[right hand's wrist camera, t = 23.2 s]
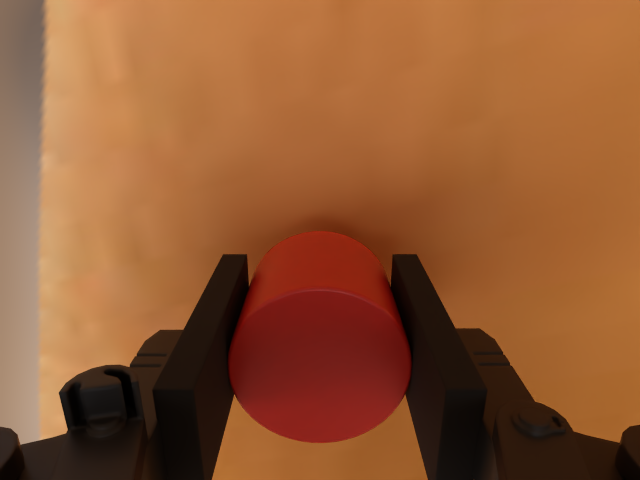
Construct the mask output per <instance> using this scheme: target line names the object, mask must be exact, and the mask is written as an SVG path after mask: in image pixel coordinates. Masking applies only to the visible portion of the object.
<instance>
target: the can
mask: <svg viewBox="0 0 640 480" xmlns="http://www.w3.org/2000/svg"><path fill="white" fill-rule="evenodd" d="M227 363H228V375H229V380H230V384H231V386H232V389H233V392H234V394H235V396H236V398H237V400H238V401H239V403H240V404H241V406H242V407H243V408H244V410H245V411H246V412H247V413H248V414H249V415H250V416H251V417H252V418H253V419H254V420H255V421H257V422H258V423H259V424H260V425H262V426H263V427H265V428H267V429H268V430H270V431H272V432H274V433H276V434H278V435H281V436H284V437H286V438H289V439H293V440H298V441H303V442H311V443H328V442H337V441H342V440H347V439H350V438H353V437H356V436H359V435H361V434H363V433H366V432H368V431H369V430H371V429H373V428H375V427H376V426H378V425H379V424H380V423H382V422H383V421H384V420H385V419H387V418H388V417H389V416H390V415H391V414H392V413H393V412H394V410H395V409H396V408H397V407H398V405H399V404H400V402H401V401H402V399H403V397H404V395H405V393H406V391H407V388H408V386H409V382H410V378H411V372H412V354H411V349H410V345H409V342H408V339H407V336H406V333H405V330H404V327H403V324H402V321H401V318H400V314H399V311H398V308H397V305H396V302H395V299H394V296H393V293H392V290H391V287H390V284H389V281H388V278H387V276H386V273H385V270H384V268H383V267H382V265H381V263H380V261H379V260H378V259H377V257H376V256H375V255H374V254H373V253H372V252H371V251H370V250H369V249H368V248H367V247H365V246H364V245H363V244H362V243H360V242H358V241H356V240H355V239H353V238H350V237H348V236H345V235H342V234H339V233H334V232H327V231H313V232H305V233H301V234H297V235H294V236H292V237H289V238H287V239H285V240H283V241H281V242H280V243H278V244H277V245H275V246H274V247H273V248H272V249H271V250H269V251H268V252H267V253H266V254H265V256H264V257H263V258H262V259H261V261H260V262H259V264H258V266H257V267H256V270H255V272H254V274H253V277H252V280H251V283H250V286H249V289H248V292H247V295H246V298H245V301H244V304H243V307H242V310H241V313H240V316H239V319H238V322H237V325H236V328H235V331H234V334H233V337H232V340H231V344H230V347H229V351H228V360H227Z"/></svg>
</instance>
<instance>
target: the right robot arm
mask: <svg viewBox="0 0 640 480" xmlns="http://www.w3.org/2000/svg"><path fill="white" fill-rule="evenodd" d="M248 289H249V280H248V263H247V254H223V256H222V258H221V259H220V261H219V263H218V265H217V267H216V269H215V271H214V273H213V275H212V277H211V278H210V280H209V282H208V284H207V286H206V288H205V290H204V292H203V294H202V296H201V298H200V299H199V301H198V303H197V305H196V307H195V309H194V311H193V313H192V315H191V317H190V318H189V320H188V322H187V324H186V326H185V328H184V330H160V331H158V332H157V333H155V334H154V335H153V336H151V337H150V338H149V339H147V340H146V341H145V342H144V344H143V345H142V347H141V348H140V350H139V351H138V353H137V356H135V358H134V359H133V361H132V362H131V364H130V367H126V366H122V365H105V366H101V367H96V368H92V369H90V370H87V371H85V372H83V373H81V374H78V375H77V376H75V377H74V378H72V379H71V380H70V381H68V382H67V383H66V384H65V385H64V386H63V388H62V389H61V390H60V392H59V395H60V399H61V403H62V407H63V412H64V416H65V420H66V424H67V428H68V431H67V433H66V434H63V435H59V436H56V437H53V438H48V439H44V440H40V441H35V442H31V443H27V444H22V445H20V442H19V439H18V435H17V434H16V433H15V432H14V431H13V430H12V429H9V428H4V427H0V480H212V476H213V472H214V469H215V465H216V461H217V457H218V454H219V450H220V446H221V442H222V438H223V435H224V431H225V427H226V423H227V419H228V416H229V412H230V408H231V404H232V401H233V397H234V392H233V389H232V386H231V384H230V380H229V375H228V363H227V360H228V351H229V347H230V344H231V340H232V337H233V334H234V331H235V328H236V325H237V322H238V319H239V316H240V313H241V310H242V307H243V304H244V301H245V298H246V295H247V292H248ZM391 290H392V293H393V296H394V299H395V302H396V305H397V308H398V311H399V314H400V318H401V321H402V324H403V327H404V330H405V333H406V336H407V339H408V342H409V345H410V349H411V354H412V372H411V378H410V382H409V386H408V388H407V391H406V393H405V394H406V398H407V402H408V406H409V409H410V413H411V417H412V421H413V425H414V428H415V432H416V436H417V440H418V443H419V447H420V451H421V455H422V459H423V462H424V466H425V470H426V474H427V478H428V480H640V425H636V426H630V427H629V428H627V429H626V430H625V431H624V432H623V434H622V437H621V441H620V443H617V442H613V441H609V440H604V439H600V438H595V437H591V436H587V435H583V434H580V433H577V432H574V431H573V430H572V428H571V427H570V425H569V423H568V422H567V420H566V419H565V418H564V417H562V416H561V415H560V414H559V413H558V412H556V411H555V410H553V409H551V408H549V407H547V406H545V405H543V404H541V403H538V402H535V401H534V399H533V398H532V396H531V395H530V393H529V392H528V390H527V389H526V387H525V385H524V384H523V382H522V381H521V379H520V378H519V376H518V375H517V373H516V372H515V370H514V369H513V367H512V366H510V362H509V361H508V359H507V358H506V356H505V355H503V352H502V350H501V349H500V347H499V345H498V344H497V342H496V341H495V339H493V338H492V337H490V336H489V335H488V334H486V333H485V332H484V331H482V330H481V329H455V327H454V325H453V323H452V321H451V319H450V317H449V315H448V313H447V312H446V310H445V308H444V306H443V304H442V302H441V300H440V298H439V296H438V294H437V292H436V291H435V289H434V287H433V285H432V283H431V281H430V279H429V277H428V275H427V273H426V272H425V270H424V268H423V266H422V264H421V262H420V260H419V258H418V256H417V254H393V258H392V274H391Z"/></svg>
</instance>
